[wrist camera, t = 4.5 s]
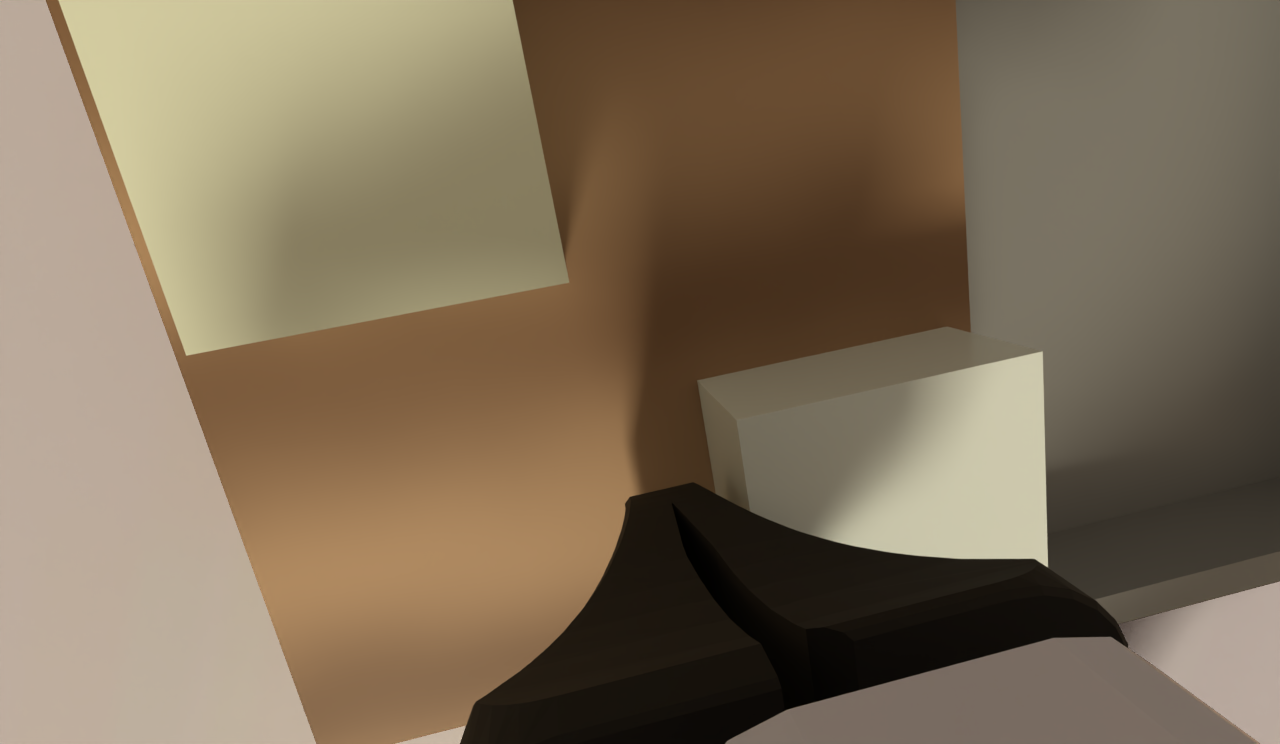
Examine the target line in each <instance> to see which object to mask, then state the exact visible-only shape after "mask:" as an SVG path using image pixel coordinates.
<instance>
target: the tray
mask: <svg viewBox="0 0 1280 744" xmlns="http://www.w3.org/2000/svg"><path fill="white" fill-rule="evenodd" d="M956 20H957V42H958V63H959V85H960V107H961V128H962V150H963V171H964V193H965V214H966V236H967V258H968V279H969V301H970V322H971V333H974V334H978V335H982V336H986V337H989V338H993V339H997V340H1001V341H1005V342H1009V343H1012V344H1016V345H1020V346H1024V347H1028V348H1032V349H1035V350H1039V351H1043V384H1044V425H1045V466H1046V506H1047V547H1048V568H1049V569H1051V570H1052V571H1054V572H1055V573H1056V574H1058V575H1059V576H1061V577H1062V578H1064V579H1065V580H1067V581H1068V582H1070V583H1071V584H1072V585H1074V586H1075V587H1077V588H1078V589H1080V590H1081V591H1083V592H1084V593H1086V594H1087V595H1088V596H1090V597H1091V598H1093V599H1094V600H1096V601H1097V602H1098V603H1099V604H1100V605H1101V606H1102V607H1103V608H1104V609H1105V610H1106V611H1107V612H1108V613H1109V614H1110V615H1111V616H1112V617H1113V618H1114V619H1115V620H1116V621H1117V623H1118V624H1121V623H1125V622H1129V621H1132V620H1136V619H1140V618H1144V617H1147V616H1151V615H1155V614H1159V613H1162V612H1166V611H1170V610H1174V609H1177V608H1181V607H1185V606H1189V605H1193V604H1196V603H1200V602H1204V601H1208V600H1211V599H1215V598H1219V597H1223V596H1226V595H1230V594H1234V593H1238V592H1241V591H1245V590H1249V589H1253V588H1256V587H1260V586H1264V585H1268V584H1272V583H1275V582H1279V581H1280V0H956Z"/></svg>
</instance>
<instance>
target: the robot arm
mask: <svg viewBox="0 0 1280 744" xmlns="http://www.w3.org/2000/svg"><path fill="white" fill-rule="evenodd" d="M460 744H1260V743H1259V742H1257V741H1256V740H1255V739H1253V738H1252V737H1251V736H1249V735H1248V734H1247V733H1245V732H1244V731H1242V730H1241V729H1240V728H1238V727H1237V726H1236V725H1234V724H1233V723H1231V722H1230V721H1229V720H1227V719H1226V718H1225V717H1223V716H1222V715H1221V714H1219V713H1218V712H1216V711H1215V710H1214V709H1212V708H1211V707H1210V706H1208V705H1207V704H1205V703H1204V702H1203V701H1201V700H1200V699H1199V698H1197V697H1196V696H1195V695H1193V694H1192V693H1190V692H1189V691H1188V690H1186V689H1185V688H1184V687H1182V686H1181V685H1179V684H1178V683H1177V682H1175V681H1174V680H1173V679H1171V678H1170V677H1169V676H1167V675H1166V674H1164V673H1163V672H1162V671H1160V670H1159V669H1158V668H1156V667H1155V666H1153V665H1152V664H1151V663H1149V662H1148V661H1146V660H1145V659H1143V658H1142V657H1140V656H1139V655H1137V654H1136V653H1134V652H1133V651H1131V650H1130V649H1128V644H1127V642H1126V640H1125V637H1124V635H1123V633H1122V631H1121V629H1120V627H1119V625H1118V623H1117V621H1116V620H1115V619H1114V618H1113V617H1112V616H1111V615H1110V614H1109V613H1108V612H1107V611H1106V610H1105V609H1104V608H1103V607H1102V606H1101V605H1100V604H1099V603H1098V602H1097V601H1096V600H1094V599H1093V598H1091V597H1090V596H1088V595H1087V594H1086V593H1084V592H1083V591H1081V590H1080V589H1078V588H1077V587H1075V586H1074V585H1072V584H1071V583H1070V582H1068V581H1067V580H1065V579H1064V578H1062V577H1061V576H1059V575H1058V574H1056V573H1055V572H1054V571H1052V570H1051V569H1049V568H1048V567H1046V566H1045V565H1043V564H1042V563H1040V562H1039V561H1037V560H1036V559H956V558H941V557H928V556H915V555H907V554H899V553H891V552H885V551H879V550H873V549H868V548H862V547H856V546H852V545H847V544H843V543H838V542H834V541H831V540H827V539H824V538H820V537H817V536H813V535H810V534H806V533H803V532H800V531H797V530H794V529H791V528H789V527H786V526H784V525H781V524H779V523H776V522H774V521H771V520H768V519H766V518H764V517H762V516H759V515H757V514H755V513H753V512H750V511H748V510H746V509H744V508H742V507H740V506H738V505H736V504H734V503H732V502H730V501H728V500H726V499H725V498H723V497H721V496H719V495H717V494H715V493H713V492H711V491H710V490H708V489H706V488H704V487H702V486H700V485H698V484H696V483H694V482H692V483H688V484H683V485H679V486H675V487H670V488H666V489H662V490H657V491H653V492H648V493H644V494H640V495H635V496H631V497H629V499H628V500H627V501H626V503H625V516H624V521H623V525H622V529H621V532H620V535H619V538H618V541H617V544H616V547H615V550H614V552H613V555H612V557H611V559H610V561H609V564H608V566H607V568H606V570H605V572H604V574H603V576H602V578H601V580H600V582H599V584H598V586H597V587H596V589H595V591H594V592H593V594H592V595H591V597H590V599H589V600H588V602H587V603H586V605H585V606H584V608H583V609H582V610H581V612H580V613H579V614H578V615H577V616H576V617H575V619H574V620H573V621H572V622H571V623H570V625H569V626H568V627H567V628H566V629H565V631H564V632H563V633H562V634H561V635H560V636H559V637H558V638H557V639H556V640H555V641H554V642H553V643H552V644H551V645H550V646H549V647H548V648H547V649H545V650H544V651H543V652H542V653H541V654H540V655H539V656H537V657H536V658H535V659H534V660H533V661H532V662H531V663H529V664H528V665H527V666H526V667H524V668H523V669H522V670H521V671H519V672H518V673H517V674H515V675H514V676H512V677H511V678H509V679H508V680H507V681H505V682H504V683H502V684H501V685H500V686H498V687H497V688H495V689H494V690H493V691H491V692H490V693H488V694H487V695H485V696H484V697H482V698H481V699H479V700H478V701H476V702H475V704H474V705H473V708H472V710H471V713H470V716H469V719H468V722H467V725H466V728H465V731H464V734H463V737H462V740H461V742H460Z"/></svg>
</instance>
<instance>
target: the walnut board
mask: <svg viewBox="0 0 1280 744" xmlns="http://www.w3.org/2000/svg"><path fill="white" fill-rule="evenodd" d="M46 2H47V5H48V8H49V10H50V13H51V16H52V19H53V21H54V24H55V27H56V30H57V32H58V35H59V38H60V41H61V43H62V46H63V49H64V52H65V54H66V57H67V60H68V63H69V65H70V68H71V71H72V74H73V76H74V79H75V82H76V85H77V87H78V90H79V93H80V96H81V98H82V101H83V104H84V107H85V109H86V112H87V115H88V118H89V120H90V123H91V126H92V129H93V131H94V134H95V137H96V140H97V142H98V145H99V148H100V151H101V153H102V156H103V159H104V162H105V164H106V167H107V170H108V173H109V175H110V178H111V181H112V184H113V186H114V189H115V192H116V194H117V197H118V200H119V203H120V205H121V208H122V211H123V214H124V216H125V219H126V222H127V225H128V227H129V230H130V233H131V236H132V238H133V241H134V244H135V247H136V249H137V252H138V255H139V258H140V260H141V263H142V266H143V269H144V271H145V274H146V277H147V280H148V282H149V285H150V288H151V291H152V293H153V296H154V299H155V302H156V304H157V307H158V310H159V313H160V315H161V318H162V321H163V324H164V326H165V329H166V332H167V335H168V337H169V340H170V343H171V346H172V348H173V351H174V354H175V357H176V359H177V362H178V365H179V367H180V370H181V373H182V376H183V378H184V381H185V384H186V387H187V389H188V392H189V395H190V398H191V400H192V403H193V406H194V409H195V411H196V414H197V417H198V420H199V422H200V425H201V428H202V431H203V433H204V436H205V439H206V442H207V444H208V447H209V450H210V453H211V455H212V458H213V461H214V464H215V466H216V469H217V472H218V475H219V477H220V480H221V483H222V486H223V488H224V491H225V494H226V497H227V499H228V502H229V505H230V508H231V510H232V513H233V516H234V519H235V521H236V524H237V527H238V530H239V532H240V535H241V538H242V540H243V543H244V546H245V549H246V551H247V554H248V557H249V560H250V562H251V565H252V568H253V571H254V573H255V576H256V579H257V582H258V584H259V587H260V590H261V593H262V595H263V598H264V601H265V604H266V606H267V609H268V612H269V615H270V617H271V620H272V623H273V626H274V628H275V631H276V634H277V637H278V639H279V642H280V645H281V648H282V650H283V653H284V656H285V659H286V661H287V664H288V667H289V670H290V672H291V675H292V678H293V681H294V683H295V686H296V689H297V692H298V694H299V697H300V700H301V703H302V705H303V708H304V711H305V714H306V716H307V719H308V722H309V724H310V727H311V730H312V733H313V735H314V738H315V741H316V744H395V743H399V742H403V741H407V740H410V739H414V738H418V737H422V736H426V735H430V734H434V733H438V732H442V731H446V730H450V729H454V728H458V727H461V726H465V725H467V722H468V719H469V716H470V713H471V710H472V708H473V705H474V704H475V702H476V701H478V700H479V699H481V698H482V697H484V696H485V695H487V694H488V693H490V692H491V691H493V690H494V689H495V688H497V687H498V686H500V685H501V684H502V683H504V682H505V681H507V680H508V679H509V678H511V677H512V676H514V675H515V674H517V673H518V672H519V671H521V670H522V669H523V668H524V667H526V666H527V665H528V664H529V663H531V662H532V661H533V660H534V659H535V658H536V657H537V656H539V655H540V654H541V653H542V652H543V651H544V650H545V649H547V648H548V647H549V646H550V645H551V644H552V643H553V642H554V641H555V640H556V639H557V638H558V637H559V636H560V635H561V634H562V633H563V632H564V631H565V629H566V628H567V627H568V626H569V625H570V623H571V622H572V621H573V620H574V619H575V617H576V616H577V615H578V614H579V613H580V612H581V610H582V609H583V608H584V606H585V605H586V603H587V602H588V600H589V599H590V597H591V595H592V594H593V592H594V591H595V589H596V587H597V586H598V584H599V582H600V580H601V578H602V576H603V574H604V572H605V570H606V568H607V566H608V564H609V561H610V559H611V557H612V555H613V552H614V550H615V547H616V544H617V541H618V538H619V535H620V532H621V529H622V525H623V521H624V516H625V503H626V501H627V500H628V499H629V497H631V496H635V495H640V494H644V493H648V492H653V491H657V490H662V489H666V488H670V487H675V486H679V485H683V484H688V483H692V482H694V483H696V484H698V485H700V486H702V487H704V488H706V489H708V490H710V491H711V492H713V493H715V494H716V492H715V486H714V480H713V474H712V468H711V462H710V456H709V450H708V444H707V437H706V431H705V425H704V419H703V413H702V407H701V401H700V395H699V388H698V382H697V380H701V379H706V378H710V377H715V376H720V375H724V374H729V373H733V372H738V371H743V370H747V369H752V368H757V367H761V366H766V365H770V364H775V363H780V362H784V361H789V360H794V359H798V358H803V357H808V356H812V355H817V354H822V353H826V352H831V351H836V350H840V349H845V348H849V347H854V346H859V345H863V344H868V343H873V342H877V341H882V340H887V339H891V338H896V337H901V336H905V335H910V334H915V333H919V332H924V331H929V330H933V329H938V328H942V327H951V328H955V329H959V330H963V331H966V332H970V333H971V322H970V301H969V279H968V258H967V236H966V214H965V193H964V171H963V150H962V128H961V107H960V85H959V63H958V42H957V20H956V0H513V5H514V10H515V15H516V20H517V25H518V30H519V35H520V40H521V45H522V50H523V55H524V60H525V65H526V70H527V74H528V79H529V84H530V89H531V94H532V99H533V104H534V109H535V114H536V119H537V124H538V129H539V134H540V139H541V144H542V149H543V154H544V159H545V164H546V169H547V174H548V179H549V184H550V189H551V194H552V199H553V204H554V209H555V214H556V219H557V224H558V229H559V234H560V239H561V244H562V249H563V253H564V258H565V263H566V268H567V273H568V278H569V283H565V284H560V285H554V286H549V287H544V288H539V289H533V290H528V291H523V292H518V293H512V294H507V295H502V296H497V297H491V298H486V299H481V300H476V301H470V302H465V303H460V304H455V305H449V306H444V307H439V308H434V309H428V310H423V311H418V312H413V313H407V314H402V315H397V316H392V317H386V318H381V319H376V320H371V321H365V322H360V323H355V324H350V325H345V326H339V327H334V328H329V329H324V330H318V331H313V332H308V333H303V334H297V335H292V336H287V337H282V338H276V339H271V340H266V341H261V342H255V343H250V344H245V345H240V346H234V347H229V348H224V349H219V350H213V351H208V352H203V353H198V354H192V355H187V356H186V354H185V351H184V348H183V345H182V342H181V340H180V337H179V334H178V331H177V329H176V326H175V323H174V320H173V317H172V315H171V312H170V309H169V306H168V304H167V301H166V298H165V295H164V292H163V290H162V287H161V284H160V281H159V279H158V276H157V273H156V270H155V267H154V265H153V262H152V259H151V256H150V253H149V251H148V248H147V245H146V242H145V240H144V237H143V234H142V231H141V228H140V226H139V223H138V220H137V217H136V215H135V212H134V209H133V206H132V203H131V201H130V198H129V195H128V192H127V190H126V187H125V184H124V181H123V178H122V176H121V173H120V170H119V167H118V165H117V162H116V159H115V156H114V153H113V151H112V148H111V145H110V142H109V140H108V137H107V134H106V131H105V128H104V126H103V123H102V120H101V117H100V115H99V112H98V109H97V106H96V103H95V101H94V98H93V95H92V92H91V89H90V87H89V84H88V81H87V78H86V76H85V73H84V70H83V67H82V64H81V62H80V59H79V56H78V53H77V51H76V48H75V45H74V42H73V39H72V37H71V34H70V31H69V28H68V26H67V23H66V20H65V17H64V14H63V12H62V9H61V6H60V3H59V1H58V0H46Z"/></svg>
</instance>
